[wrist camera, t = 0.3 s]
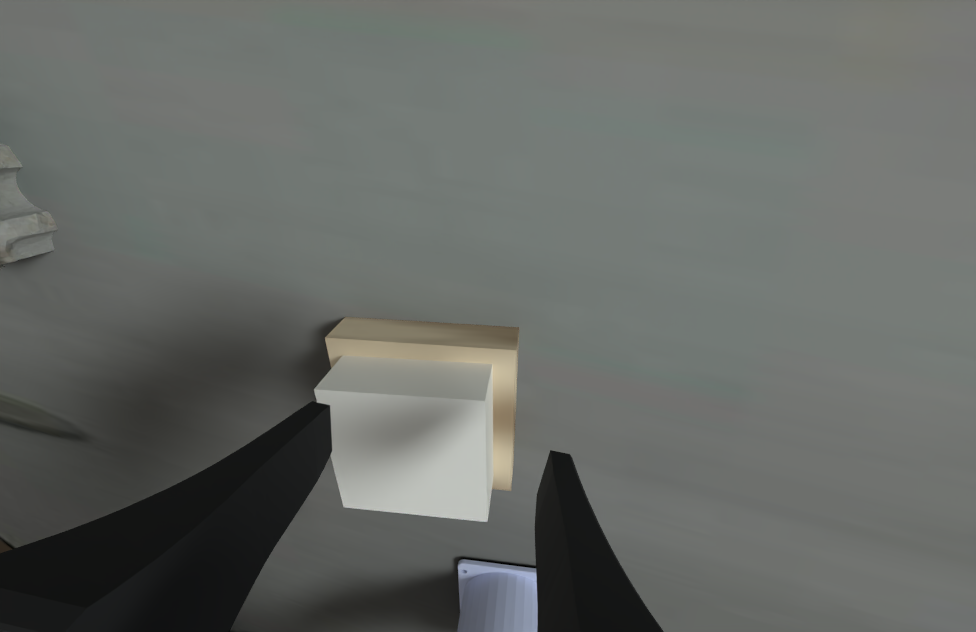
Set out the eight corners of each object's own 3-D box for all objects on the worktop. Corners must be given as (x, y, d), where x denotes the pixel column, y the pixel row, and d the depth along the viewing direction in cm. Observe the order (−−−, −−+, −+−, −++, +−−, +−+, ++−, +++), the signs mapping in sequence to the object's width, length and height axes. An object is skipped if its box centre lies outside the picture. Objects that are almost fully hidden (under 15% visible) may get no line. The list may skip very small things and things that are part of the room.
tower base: (514, 453, 27) (510, 490, 24) (371, 440, 28) (353, 474, 25) (519, 322, 22) (516, 350, 20) (349, 312, 23) (324, 337, 21)
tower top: (493, 476, 24) (487, 521, 21) (365, 465, 25) (343, 507, 22) (492, 363, 20) (484, 400, 17) (342, 355, 21) (313, 389, 18)
